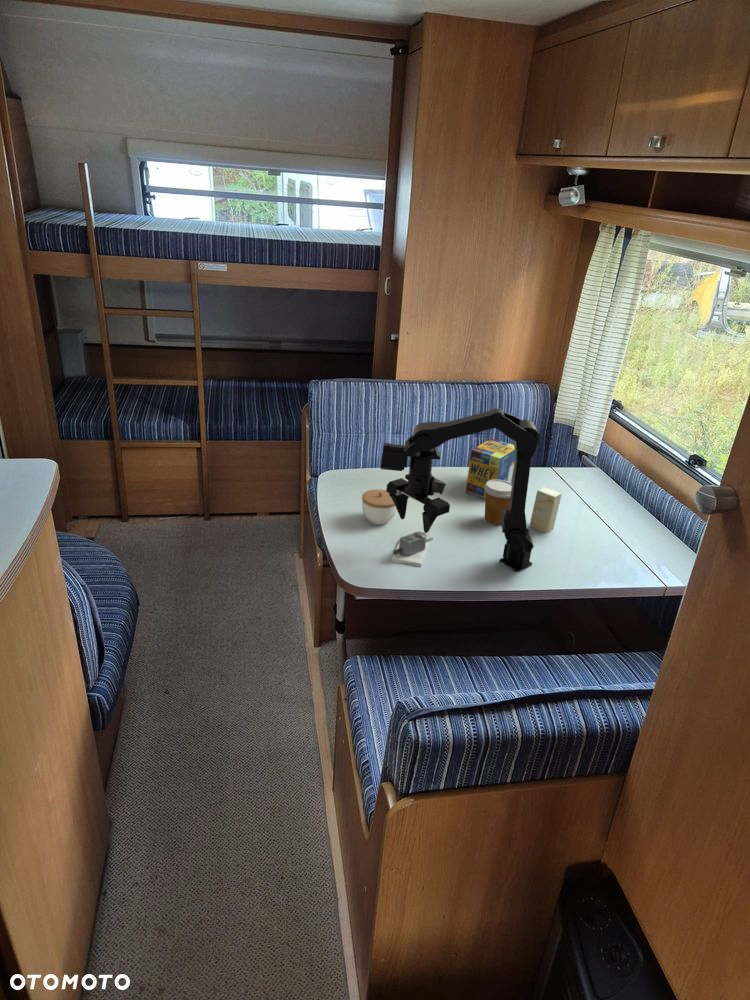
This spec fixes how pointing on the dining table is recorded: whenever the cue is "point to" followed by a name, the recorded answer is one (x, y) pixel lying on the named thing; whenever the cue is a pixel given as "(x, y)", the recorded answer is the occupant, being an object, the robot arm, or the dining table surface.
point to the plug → (412, 543)
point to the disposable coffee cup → (496, 500)
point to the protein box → (489, 465)
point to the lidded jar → (378, 506)
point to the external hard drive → (411, 557)
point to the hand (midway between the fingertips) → (414, 525)
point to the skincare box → (545, 509)
